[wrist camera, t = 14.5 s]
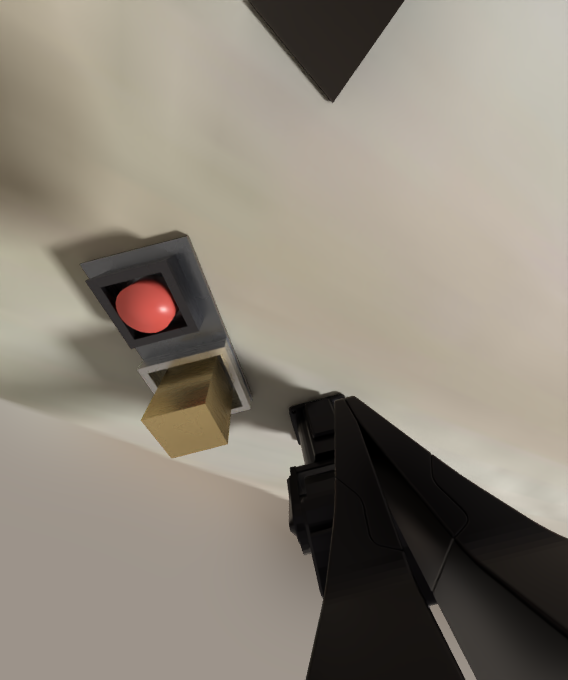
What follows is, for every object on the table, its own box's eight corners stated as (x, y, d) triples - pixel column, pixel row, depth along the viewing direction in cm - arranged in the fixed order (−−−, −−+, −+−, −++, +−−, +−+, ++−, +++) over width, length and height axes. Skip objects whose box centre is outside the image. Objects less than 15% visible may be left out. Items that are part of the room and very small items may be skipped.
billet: (232, 391, 23) (227, 444, 18) (189, 402, 23) (171, 458, 18) (216, 355, 21) (205, 403, 16) (168, 367, 21) (140, 420, 16)
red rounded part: (189, 311, 18) (180, 325, 16) (147, 322, 18) (133, 338, 16) (169, 269, 17) (156, 279, 15) (123, 281, 17) (104, 292, 15)
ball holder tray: (252, 396, 24) (252, 416, 22) (183, 413, 24) (175, 436, 22) (188, 235, 16) (177, 240, 14) (85, 262, 16) (56, 271, 14)
